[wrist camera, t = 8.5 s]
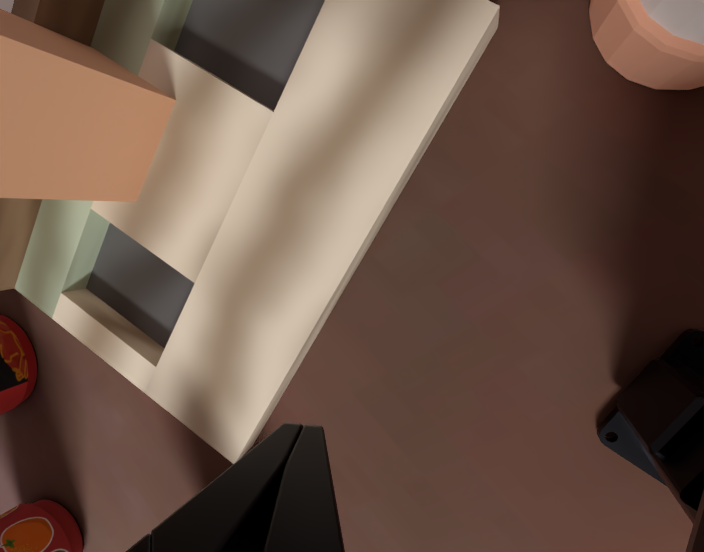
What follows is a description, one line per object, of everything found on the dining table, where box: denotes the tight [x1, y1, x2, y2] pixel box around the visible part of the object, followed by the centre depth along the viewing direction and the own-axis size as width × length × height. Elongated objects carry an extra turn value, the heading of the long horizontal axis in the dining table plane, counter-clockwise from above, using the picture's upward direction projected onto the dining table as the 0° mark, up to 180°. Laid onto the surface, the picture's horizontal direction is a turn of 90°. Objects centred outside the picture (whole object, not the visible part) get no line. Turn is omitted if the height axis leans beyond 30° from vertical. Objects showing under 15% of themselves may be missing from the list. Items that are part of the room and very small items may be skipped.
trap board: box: [0, 0, 500, 464], centre depth 21 cm, size 20×26×5 cm
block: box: [0, 9, 176, 202], centre depth 18 cm, size 6×6×9 cm
